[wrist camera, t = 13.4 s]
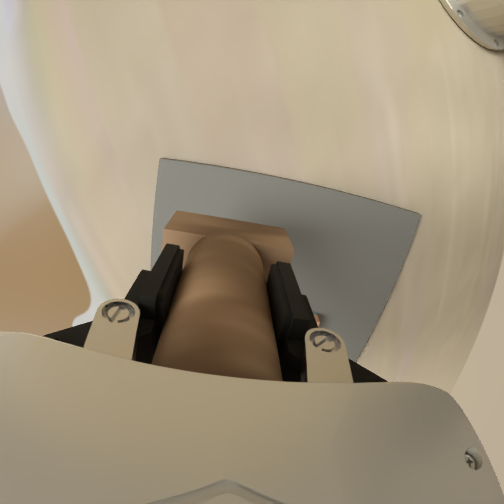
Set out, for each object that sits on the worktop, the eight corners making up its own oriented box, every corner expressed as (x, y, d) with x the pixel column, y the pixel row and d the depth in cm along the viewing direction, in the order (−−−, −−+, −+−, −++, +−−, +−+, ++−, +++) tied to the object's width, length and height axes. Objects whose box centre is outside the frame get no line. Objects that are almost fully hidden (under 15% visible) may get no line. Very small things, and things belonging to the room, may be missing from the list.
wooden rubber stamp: (285, 223, 16) (383, 451, 4) (271, 280, 17) (315, 505, 5) (177, 205, 15) (46, 416, 3) (171, 264, 16) (93, 482, 5)
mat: (417, 213, 22) (421, 215, 22) (332, 394, 32) (333, 398, 32) (161, 157, 20) (159, 158, 19) (153, 377, 30) (152, 381, 29)
